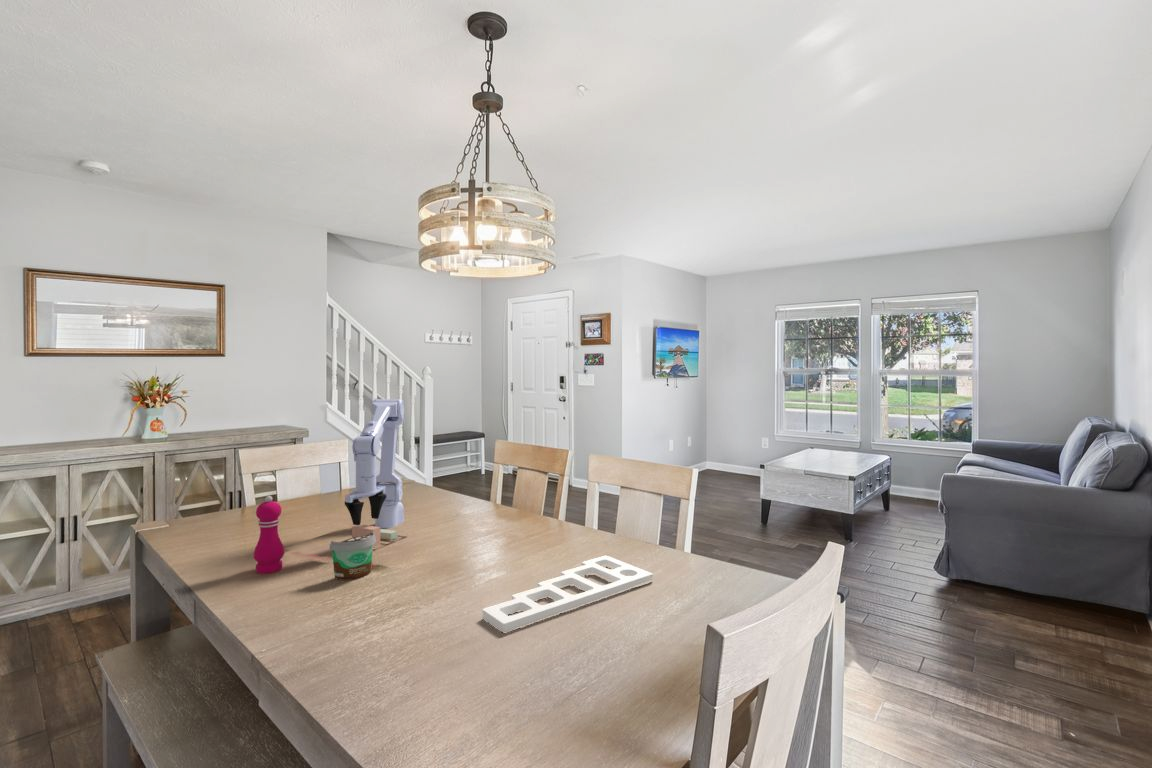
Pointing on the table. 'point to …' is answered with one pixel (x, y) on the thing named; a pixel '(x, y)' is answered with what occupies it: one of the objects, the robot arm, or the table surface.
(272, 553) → the pepper mill
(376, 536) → the pink rectangular prism
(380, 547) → the rack
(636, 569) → the holder
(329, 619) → the table surface
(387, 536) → the upper offcut
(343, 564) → the food container
